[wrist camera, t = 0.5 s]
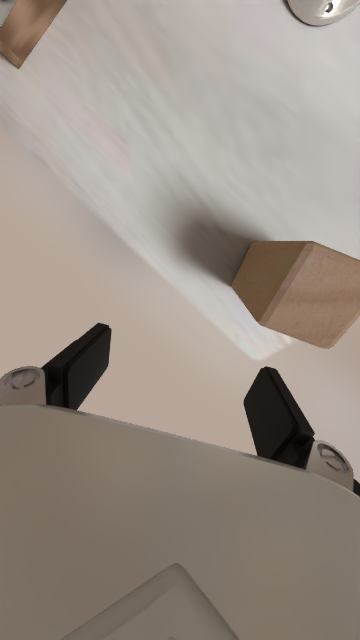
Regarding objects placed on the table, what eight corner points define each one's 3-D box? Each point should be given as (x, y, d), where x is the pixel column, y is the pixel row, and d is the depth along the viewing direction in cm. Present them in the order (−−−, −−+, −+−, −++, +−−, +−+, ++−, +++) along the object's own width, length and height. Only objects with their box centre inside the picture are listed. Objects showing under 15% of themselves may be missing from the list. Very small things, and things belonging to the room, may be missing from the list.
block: (270, 302, 40) (332, 354, 21) (229, 286, 39) (255, 325, 21) (297, 257, 36) (401, 274, 17) (251, 239, 35) (308, 237, 17)
